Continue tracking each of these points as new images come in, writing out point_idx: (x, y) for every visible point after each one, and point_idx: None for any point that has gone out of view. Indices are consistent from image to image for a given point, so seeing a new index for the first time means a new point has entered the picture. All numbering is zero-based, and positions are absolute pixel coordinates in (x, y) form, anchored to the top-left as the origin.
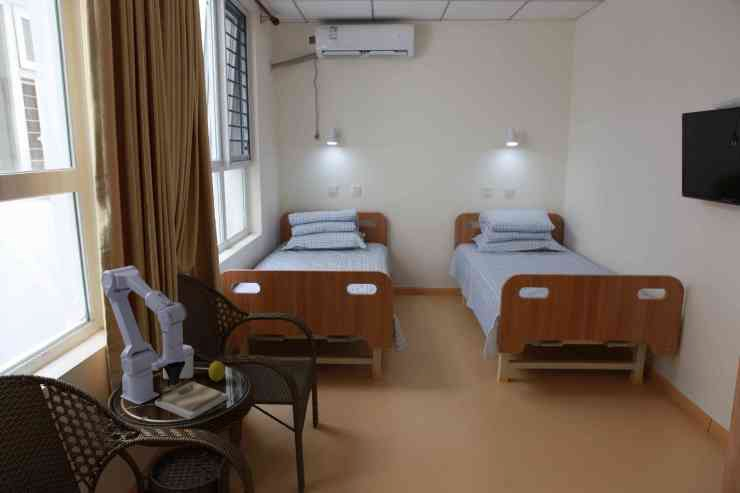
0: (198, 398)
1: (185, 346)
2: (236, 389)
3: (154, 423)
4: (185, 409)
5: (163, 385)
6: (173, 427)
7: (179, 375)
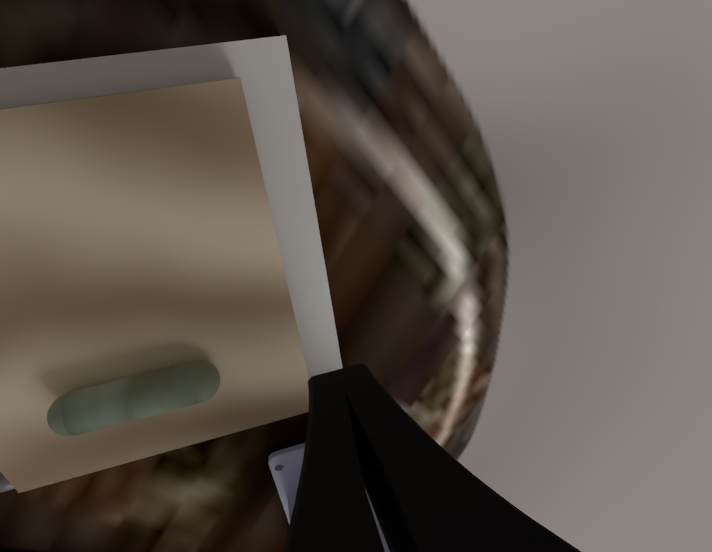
0: (89, 209)
1: None
2: None
3: (465, 197)
4: (262, 164)
5: (192, 529)
6: (431, 44)
7: (317, 472)
